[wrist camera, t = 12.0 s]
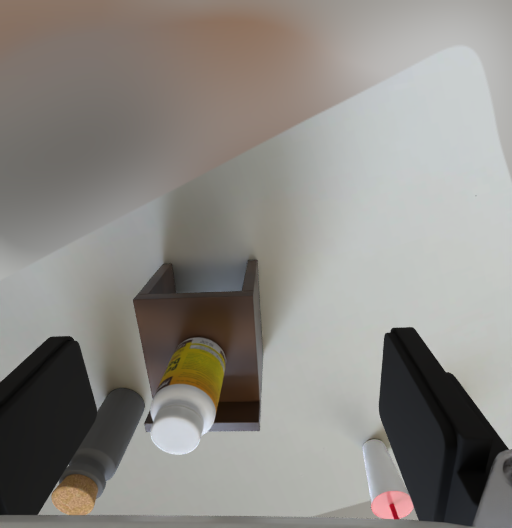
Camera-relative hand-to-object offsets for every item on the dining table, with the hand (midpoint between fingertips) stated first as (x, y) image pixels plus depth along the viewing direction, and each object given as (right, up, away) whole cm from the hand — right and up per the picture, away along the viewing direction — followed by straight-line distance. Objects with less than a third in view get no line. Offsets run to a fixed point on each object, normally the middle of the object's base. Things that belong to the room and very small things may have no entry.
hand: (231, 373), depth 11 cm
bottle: (-19, -17, +42) cm, 49 cm away
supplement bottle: (-5, -6, +27) cm, 28 cm away
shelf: (-5, -3, +36) cm, 36 cm away
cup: (+19, -24, +43) cm, 53 cm away
